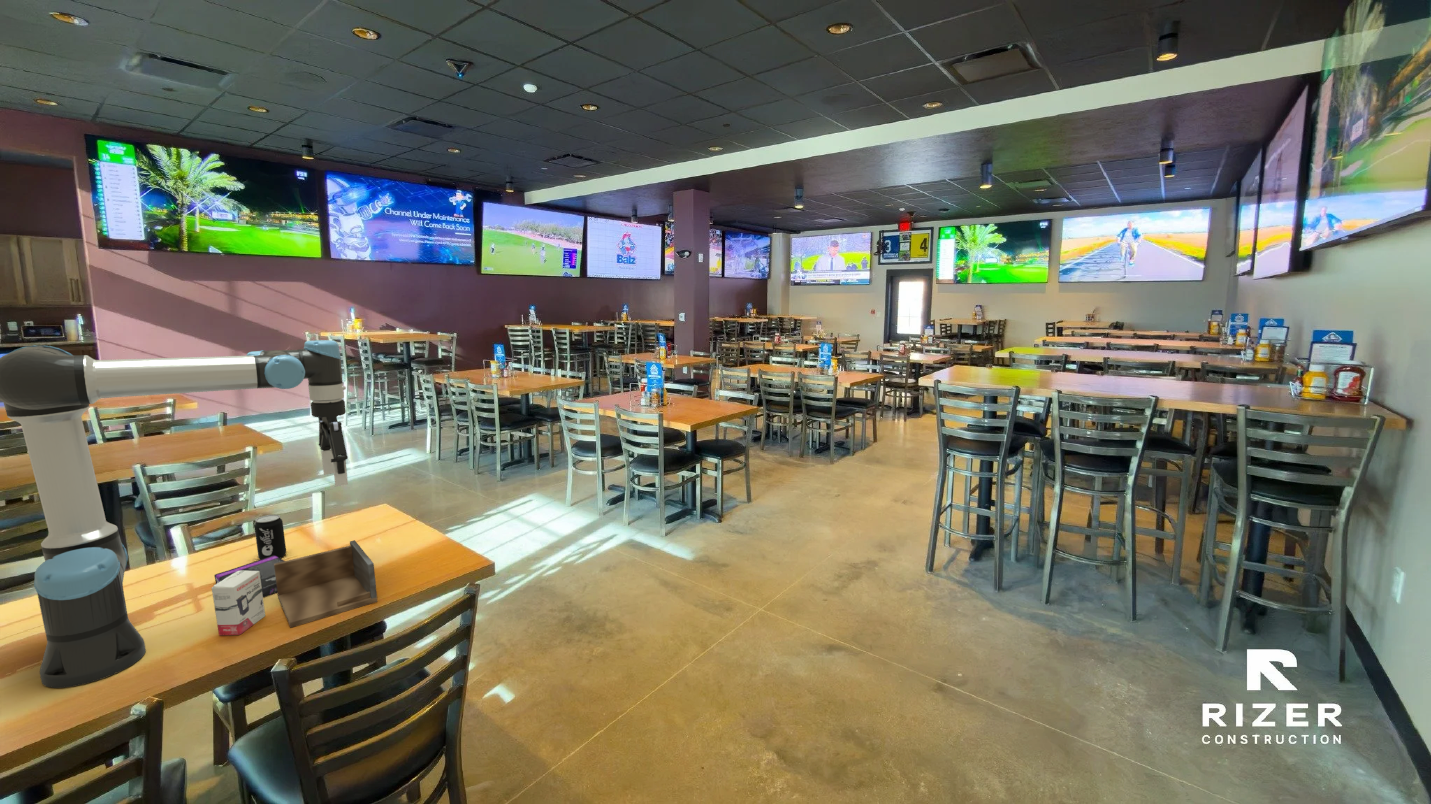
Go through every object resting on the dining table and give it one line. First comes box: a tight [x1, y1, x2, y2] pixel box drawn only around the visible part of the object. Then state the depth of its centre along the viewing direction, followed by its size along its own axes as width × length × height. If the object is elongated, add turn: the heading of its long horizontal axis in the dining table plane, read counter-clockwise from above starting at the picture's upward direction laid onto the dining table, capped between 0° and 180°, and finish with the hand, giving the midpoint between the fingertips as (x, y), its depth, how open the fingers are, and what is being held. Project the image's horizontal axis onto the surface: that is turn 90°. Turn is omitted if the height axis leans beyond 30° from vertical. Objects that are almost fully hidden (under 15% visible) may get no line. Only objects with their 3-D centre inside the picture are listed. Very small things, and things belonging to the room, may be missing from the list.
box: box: [213, 555, 285, 598], centre depth 161 cm, size 14×4×20 cm
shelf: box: [274, 540, 378, 628], centre depth 152 cm, size 18×19×10 cm
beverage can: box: [253, 514, 287, 560], centre depth 175 cm, size 7×7×12 cm
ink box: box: [211, 570, 266, 636], centre depth 139 cm, size 8×5×12 cm, turn 2°
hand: (335, 479), depth 161 cm, fingers open, 13 cm apart
